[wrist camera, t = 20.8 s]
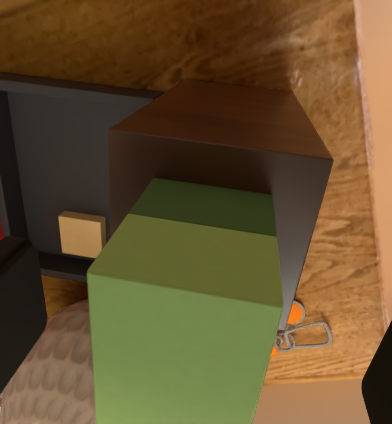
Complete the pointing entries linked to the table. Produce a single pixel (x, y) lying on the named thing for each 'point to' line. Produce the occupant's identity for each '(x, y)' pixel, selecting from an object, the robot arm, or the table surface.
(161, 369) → the sponge
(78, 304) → the vase
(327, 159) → the stand
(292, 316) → the key chain
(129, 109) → the pan
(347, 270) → the table surface
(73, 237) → the tan square tile
